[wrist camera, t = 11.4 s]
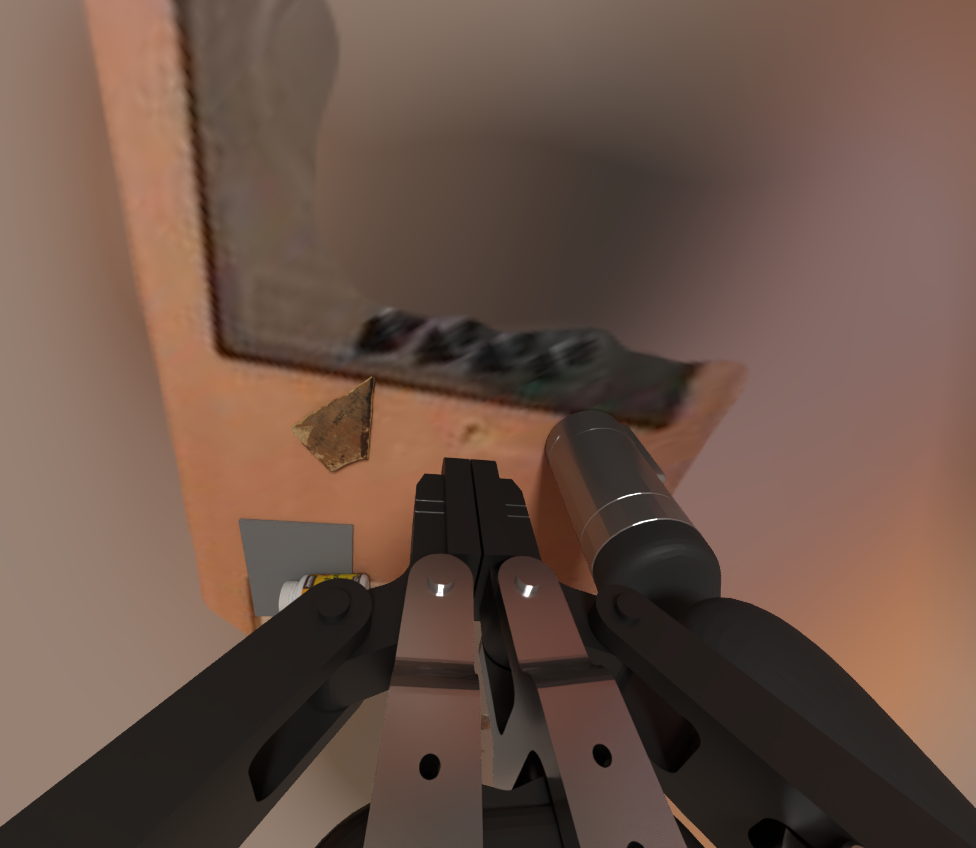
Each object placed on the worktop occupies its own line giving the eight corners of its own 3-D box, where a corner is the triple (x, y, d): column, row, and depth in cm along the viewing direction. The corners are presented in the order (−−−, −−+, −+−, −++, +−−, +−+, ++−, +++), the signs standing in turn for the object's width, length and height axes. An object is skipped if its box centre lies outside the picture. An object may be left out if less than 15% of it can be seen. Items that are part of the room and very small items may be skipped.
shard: (375, 371, 41) (373, 378, 40) (418, 425, 45) (417, 434, 43) (291, 420, 43) (286, 429, 41) (339, 469, 47) (335, 478, 45)
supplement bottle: (364, 584, 50) (275, 586, 48) (362, 628, 50) (274, 631, 49) (370, 566, 55) (291, 567, 54) (369, 606, 56) (291, 608, 54)
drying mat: (353, 524, 50) (352, 527, 50) (352, 615, 59) (351, 617, 59) (240, 518, 48) (238, 521, 48) (256, 613, 57) (255, 615, 57)
